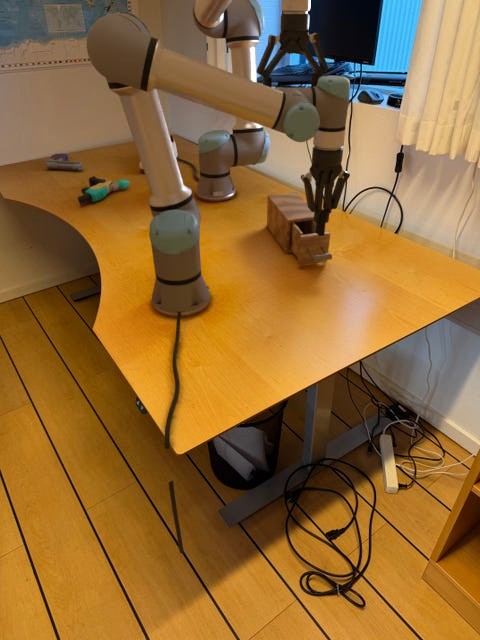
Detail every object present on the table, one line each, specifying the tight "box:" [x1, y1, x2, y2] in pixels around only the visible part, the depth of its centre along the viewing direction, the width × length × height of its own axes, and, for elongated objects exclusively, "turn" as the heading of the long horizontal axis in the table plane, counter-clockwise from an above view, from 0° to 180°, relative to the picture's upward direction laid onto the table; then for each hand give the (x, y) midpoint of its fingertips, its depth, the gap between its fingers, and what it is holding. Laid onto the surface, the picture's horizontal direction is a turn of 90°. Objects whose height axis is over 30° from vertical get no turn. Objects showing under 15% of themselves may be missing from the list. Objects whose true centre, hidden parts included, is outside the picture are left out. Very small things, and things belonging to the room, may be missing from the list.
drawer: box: [289, 220, 333, 266], centre depth 142 cm, size 26×9×9 cm, turn 15°
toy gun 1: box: [44, 152, 84, 171], centre depth 216 cm, size 4×19×15 cm
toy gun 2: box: [77, 175, 130, 205], centre depth 186 cm, size 4×26×15 cm
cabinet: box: [266, 191, 314, 254], centre depth 153 cm, size 20×10×11 cm, turn 15°
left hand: (319, 233), depth 131 cm, fingers closed
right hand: (291, 100), depth 137 cm, fingers open, 13 cm apart
